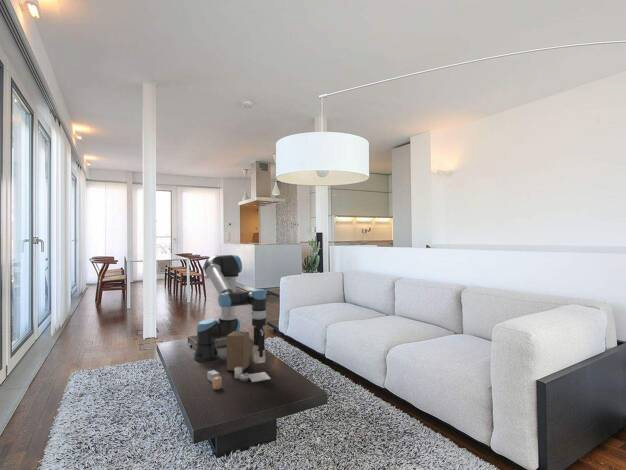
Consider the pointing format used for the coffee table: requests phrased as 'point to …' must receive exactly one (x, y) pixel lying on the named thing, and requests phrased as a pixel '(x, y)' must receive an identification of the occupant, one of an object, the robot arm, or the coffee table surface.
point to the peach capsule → (217, 382)
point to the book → (219, 342)
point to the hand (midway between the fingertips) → (258, 360)
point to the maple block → (255, 354)
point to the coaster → (258, 377)
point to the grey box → (212, 375)
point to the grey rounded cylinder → (238, 372)
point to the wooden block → (237, 350)
